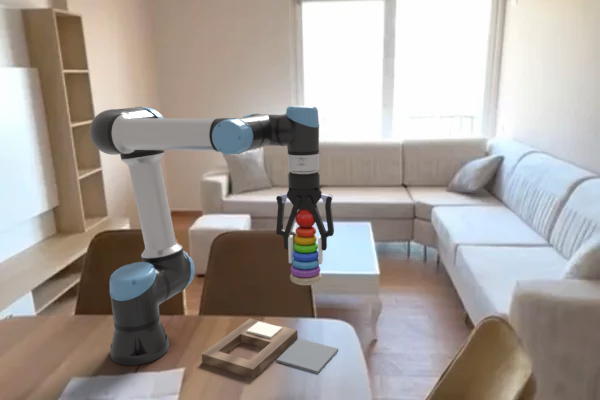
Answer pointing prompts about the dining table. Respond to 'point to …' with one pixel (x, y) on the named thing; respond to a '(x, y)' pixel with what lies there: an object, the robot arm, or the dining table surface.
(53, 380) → the dining table surface
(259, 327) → the walnut puzzle board
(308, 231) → the stacking toy
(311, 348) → the gray square plate
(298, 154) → the robot arm
